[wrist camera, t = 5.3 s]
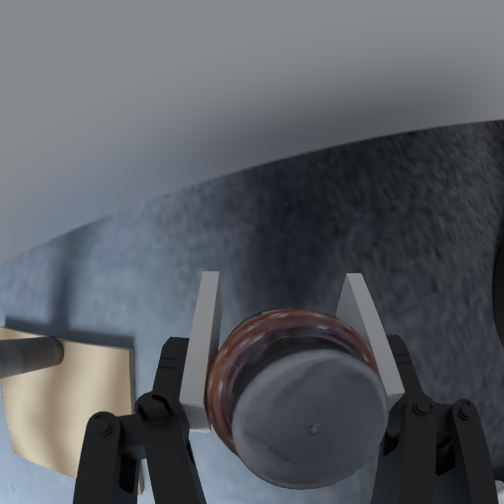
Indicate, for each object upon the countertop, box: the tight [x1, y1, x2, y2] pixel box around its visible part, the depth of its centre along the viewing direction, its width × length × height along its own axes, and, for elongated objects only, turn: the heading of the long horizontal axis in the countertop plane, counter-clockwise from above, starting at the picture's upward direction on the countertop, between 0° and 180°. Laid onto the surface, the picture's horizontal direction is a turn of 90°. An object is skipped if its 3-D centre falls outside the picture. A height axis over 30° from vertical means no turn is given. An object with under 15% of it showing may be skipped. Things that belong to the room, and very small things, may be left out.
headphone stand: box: [0, 327, 144, 495], centre depth 13 cm, size 14×13×13 cm
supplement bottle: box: [206, 309, 389, 490], centre depth 12 cm, size 6×6×11 cm
